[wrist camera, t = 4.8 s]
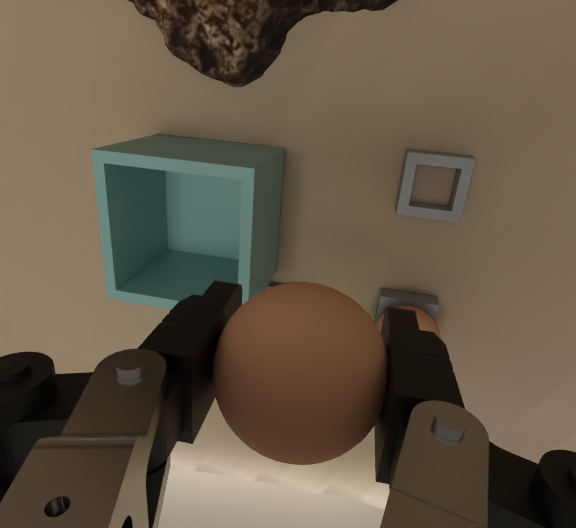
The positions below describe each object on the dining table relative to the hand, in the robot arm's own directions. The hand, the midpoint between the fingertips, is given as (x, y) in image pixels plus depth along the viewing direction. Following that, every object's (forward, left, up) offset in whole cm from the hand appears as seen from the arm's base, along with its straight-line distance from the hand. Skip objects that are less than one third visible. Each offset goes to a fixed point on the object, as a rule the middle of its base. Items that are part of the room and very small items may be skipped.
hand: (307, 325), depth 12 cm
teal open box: (+8, +2, -16) cm, 18 cm away
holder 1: (-5, -1, -16) cm, 17 cm away
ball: (0, 0, +2) cm, 2 cm away
